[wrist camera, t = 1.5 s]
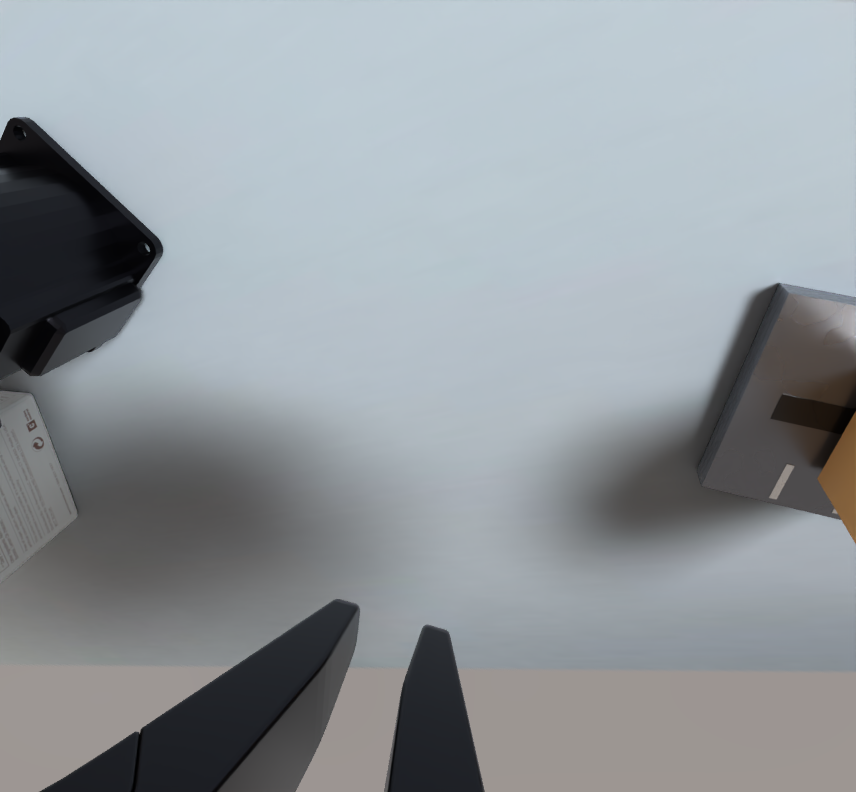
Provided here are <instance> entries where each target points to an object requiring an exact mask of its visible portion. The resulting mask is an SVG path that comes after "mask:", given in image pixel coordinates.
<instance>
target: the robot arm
mask: <svg viewBox="0 0 856 792" xmlns="http://www.w3.org/2000/svg"><path fill="white" fill-rule="evenodd" d="M23 129H24V131H25V133H26V137H25V136H24V134H23ZM145 243H146V244H147V245H148V246H149V248H150V252H148V251H147V250H146V248H145V245H144V244H145ZM162 253H163V247H162V244H161V242H160V240H159V239H158V238H157V237H156V236H155V235H154V234H153V233H152V232H151V231H150V230H149V229H148V228H147V227H146V226H145V225H144V224H143V223H141V222H140V221H139V220H138V219H137V218H136V217H135V216H134V215H133V214H132V213H131V212H130V211H129V210H128V209H127V208H125V207H124V206H123V205H122V204H121V203H120V202H119V201H118V200H117V199H116V198H115V197H114V196H113V195H112V194H111V193H110V192H108V191H107V190H106V189H105V188H104V187H103V186H102V185H101V184H100V183H99V182H98V181H97V180H96V179H95V178H94V177H92V176H91V175H90V174H89V173H88V172H87V171H86V170H85V169H84V168H83V167H82V166H81V165H80V164H79V163H78V162H77V161H75V160H74V159H73V158H72V157H71V156H70V155H69V154H68V153H67V152H66V151H65V150H64V149H63V148H62V147H61V146H59V145H58V144H57V143H56V142H55V141H54V140H53V139H52V138H51V137H50V136H49V135H48V134H47V133H46V132H45V131H44V130H42V129H41V128H40V127H39V126H38V125H37V124H36V123H35V122H34V121H32V120H31V119H30V118H26V117H16V118H12V119H10V120H9V121H8V123H7V125H6V128H5V130H4V132H3V135H2V137H1V140H0V380H1V379H3V378H5V377H7V376H9V375H11V374H13V373H15V372H17V371H19V370H21V369H23V370H24V371H25V372H26V373H27V374H29V375H30V376H42V375H44V374H45V373H47V372H49V371H51V370H53V369H55V368H57V367H59V366H60V365H62V364H64V363H66V362H68V361H70V360H72V359H74V358H76V357H77V356H79V355H81V354H83V353H85V352H92V351H94V350H96V349H97V348H99V347H100V346H101V345H102V344H103V343H104V342H106V341H108V340H110V339H111V338H113V337H115V336H116V335H117V334H118V332H119V331H120V329H121V328H122V326H123V325H124V323H125V322H126V321H127V319H128V318H129V316H130V315H131V313H132V312H133V310H134V309H135V307H136V306H137V304H138V303H139V301H140V300H141V298H142V291H141V290H140V287H141V286H142V284H143V283H144V281H145V280H146V278H147V277H148V275H149V274H150V272H151V271H152V269H153V268H154V266H155V265H156V263H157V262H158V260H159V259H160V257H161V256H162ZM1 426H2V423H1V420H0V428H1ZM359 616H360V608H359V606H358V605H357V604H355V603H351V602H348V601H344V600H341V599H336V600H333V601H332V602H330V603H329V604H327V605H326V606H324V607H323V608H321V609H320V610H318V611H317V612H315V613H314V614H312V615H311V616H309V617H308V618H306V619H305V620H303V621H302V622H300V623H299V624H297V625H296V626H294V627H293V628H291V629H290V630H288V631H287V632H285V633H284V634H282V635H281V636H279V637H278V638H276V639H275V640H273V641H272V642H270V643H269V644H267V645H266V646H264V647H263V648H261V649H260V650H258V651H257V652H255V653H254V654H252V655H251V656H249V657H248V658H246V659H245V660H243V661H242V662H240V663H239V664H237V665H236V666H234V667H233V668H231V669H230V670H228V671H227V672H225V673H224V674H222V675H221V676H219V677H218V678H216V679H215V680H213V681H212V682H210V683H209V684H207V685H206V686H204V687H203V688H201V689H200V690H198V691H197V692H195V693H194V694H192V695H191V696H189V697H188V698H186V699H185V700H183V701H182V702H180V703H179V704H177V705H176V706H174V707H173V708H171V709H170V710H168V711H167V712H165V713H164V714H162V715H161V716H159V717H158V718H156V719H155V720H153V721H152V722H150V723H149V724H147V725H146V726H144V727H143V728H142V729H141V732H140V734H139V732H134V733H132V734H131V735H129V736H128V737H126V738H125V739H123V740H122V741H120V742H119V743H117V744H116V745H114V746H113V747H111V748H110V749H109V750H107V751H105V752H104V753H102V754H101V755H99V756H97V757H96V758H94V759H93V760H91V761H89V762H88V763H86V764H85V765H83V766H82V767H80V768H78V769H77V770H75V771H74V772H72V773H71V774H69V775H68V776H66V777H64V778H63V779H61V780H59V781H57V782H56V783H54V784H52V785H50V786H49V787H47V788H45V789H44V790H42V791H40V792H295V791H296V790H297V788H298V786H299V783H300V782H301V780H302V778H303V776H304V774H305V772H306V770H307V768H308V766H309V764H310V762H311V760H312V758H313V756H314V754H315V752H316V749H317V748H318V746H319V743H320V741H321V738H322V737H323V734H324V731H325V729H326V727H327V724H328V721H329V719H330V715H331V713H332V710H333V708H334V705H335V702H336V700H337V697H338V694H339V692H340V689H341V686H342V683H343V681H344V678H345V675H346V672H347V670H348V667H349V665H350V662H351V659H352V656H353V653H354V650H355V646H356V642H357V634H358V625H359ZM384 792H485V791H484V787H483V782H482V778H481V774H480V769H479V764H478V760H477V755H476V751H475V746H474V742H473V738H472V733H471V728H470V724H469V719H468V715H467V710H466V706H465V701H464V697H463V693H462V688H461V684H460V679H459V674H458V670H457V665H456V661H455V656H454V652H453V647H452V643H451V638H450V635H449V632H448V631H447V630H444V629H441V628H438V627H434V626H431V625H425V626H424V627H423V628H422V631H421V634H420V636H419V639H418V642H417V645H416V648H415V651H414V654H413V656H412V659H411V662H410V665H409V668H408V671H407V674H406V676H405V680H404V683H403V687H402V692H401V697H400V703H399V709H398V714H397V720H396V726H395V731H394V737H393V743H392V748H391V754H390V760H389V765H388V771H387V777H386V783H385V789H384Z"/></svg>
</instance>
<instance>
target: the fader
mask: <svg viewBox="0 0 856 792" xmlns="http://www.w3.org/2000/svg"><path fill="white" fill-rule="evenodd" d="M817 479H818V481H819V483H820V485H821V486H822V488H823V490H824V491H825V493H826V495H827V496H828V498H829V500H830V501H831V503H832V505H833V506H834V508H835V510H836V511H837V513H838V515H839V516H840V518H841V520H842V521H843V523H844V525H845V526H846V528H847V530H848V532H849V533H850V535H851V537H852V538H853V540H854V542H855V543H856V412H855V413H854V415H853V417H852V419H851V420H850V422H849V424H848V426H847V427H846V429H845V431H844V433H843V434H842V436H841V438H840V440H839V441H838V443H837V445H836V447H835V448H834V450H833V452H832V454H831V455H830V457H829V459H828V461H827V462H826V464H825V466H824V468H823V469H822V471H821V473H820V475H819V476H818V478H817Z"/></svg>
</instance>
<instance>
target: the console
mask: <svg viewBox="0 0 856 792" xmlns="http://www.w3.org/2000/svg"><path fill="white" fill-rule="evenodd" d="M855 412H856V297H851V296H845V295H840V294H835V293H829V292H824V291H819V290H813V289H808V288H803V287H798V286H792V285H787V284H782V283H779V285H778V287H777V289H776V292H775V294H774V296H773V299H772V301H771V303H770V305H769V308H768V310H767V312H766V314H765V317H764V319H763V321H762V323H761V326H760V328H759V330H758V333H757V335H756V337H755V339H754V342H753V344H752V346H751V348H750V351H749V353H748V355H747V357H746V360H745V362H744V364H743V366H742V369H741V371H740V373H739V376H738V378H737V380H736V382H735V385H734V387H733V389H732V391H731V394H730V396H729V398H728V400H727V403H726V405H725V407H724V410H723V412H722V414H721V416H720V419H719V421H718V423H717V425H716V428H715V430H714V432H713V434H712V437H711V439H710V441H709V443H708V446H707V448H706V450H705V453H704V455H703V457H702V459H701V462H700V464H699V466H698V468H697V473H698V476H699V479H700V483H701V486H702V487H706V488H710V489H715V490H719V491H723V492H727V493H731V494H736V495H740V496H744V497H748V498H752V499H756V500H761V501H765V502H769V503H773V504H777V505H782V506H786V507H790V508H794V509H798V510H802V511H807V512H811V513H815V514H819V515H823V516H828V517H832V518H836V519H840V520H841V518H840V516H839V515H838V513H837V511H836V510H835V508H834V506H833V505H832V503H831V501H830V500H829V498H828V496H827V495H826V493H825V491H824V490H823V488H822V486H821V485H820V483H819V481H818V479H817V478H818V476H819V475H820V473H821V471H822V469H823V468H824V466H825V464H826V462H827V461H828V459H829V457H830V455H831V454H832V452H833V450H834V448H835V447H836V445H837V443H838V441H839V440H840V438H841V436H842V434H843V433H844V431H845V429H846V427H847V426H848V424H849V422H850V420H851V419H852V417H853V415H854V413H855Z"/></svg>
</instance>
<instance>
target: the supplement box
mask: <svg viewBox="0 0 856 792" xmlns="http://www.w3.org/2000/svg"><path fill="white" fill-rule="evenodd" d="M0 420H1V423H2V426H1V428H0V584H1V583H2V582H3V581H4V580H5V579H7V578H8V577H9V576H10V575H11V574H13V573H14V572H15V571H16V570H17V569H18V568H19V567H20V566H22V565H23V564H24V563H25V562H26V561H27V560H29V559H30V558H31V557H32V556H33V555H34V554H36V553H37V552H38V551H39V550H40V549H41V548H43V547H44V546H45V545H46V544H47V543H48V542H50V541H51V540H52V539H53V538H54V537H55V536H56V535H58V534H59V533H60V532H61V531H62V530H63V529H65V528H66V527H67V526H68V525H69V524H70V523H72V522H73V521H74V520H75V519H76V518H77V509H76V507H75V504H74V501H73V498H72V495H71V492H70V490H69V487H68V485H67V482H66V479H65V477H64V474H63V471H62V469H61V466H60V463H59V460H58V458H57V455H56V452H55V450H54V447H53V445H52V442H51V439H50V436H49V434H48V431H47V429H46V426H45V424H44V421H43V419H42V416H41V414H40V411H39V409H38V406H37V404H36V401H35V399H34V397H33V396H32V394H30V393H22V392H10V391H0Z"/></svg>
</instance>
